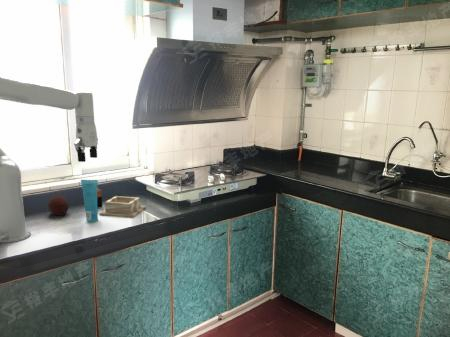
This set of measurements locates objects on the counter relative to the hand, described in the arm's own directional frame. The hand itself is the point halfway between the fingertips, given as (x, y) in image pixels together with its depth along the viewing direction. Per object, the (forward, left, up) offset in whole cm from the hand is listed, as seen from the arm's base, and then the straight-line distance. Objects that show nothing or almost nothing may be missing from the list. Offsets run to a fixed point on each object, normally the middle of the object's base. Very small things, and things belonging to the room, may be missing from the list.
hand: (87, 159), depth 168 cm
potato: (+5, +20, -29) cm, 35 cm away
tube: (0, 0, -28) cm, 29 cm away
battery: (+18, +9, -29) cm, 35 cm away
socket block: (+15, -8, -28) cm, 33 cm away
